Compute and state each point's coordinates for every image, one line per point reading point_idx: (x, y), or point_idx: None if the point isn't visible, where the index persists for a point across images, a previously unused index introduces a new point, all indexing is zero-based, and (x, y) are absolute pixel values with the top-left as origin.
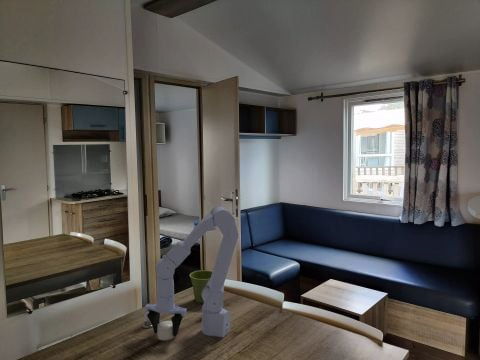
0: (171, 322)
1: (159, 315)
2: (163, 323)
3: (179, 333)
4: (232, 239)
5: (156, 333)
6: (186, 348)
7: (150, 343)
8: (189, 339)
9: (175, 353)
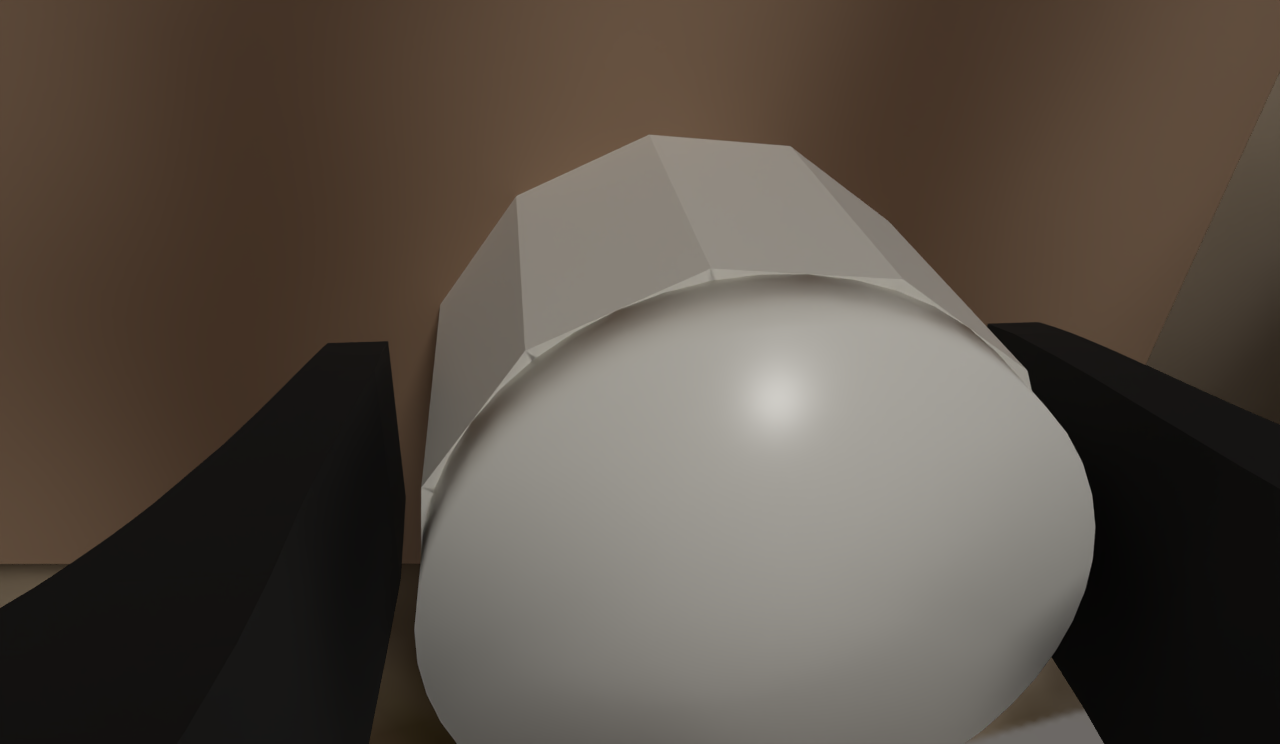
0: (933, 424)
1: (233, 707)
2: (616, 586)
3: (1021, 131)
4: None
5: (404, 486)
6: None
7: (405, 587)
8: (1268, 184)
9: (1036, 683)
